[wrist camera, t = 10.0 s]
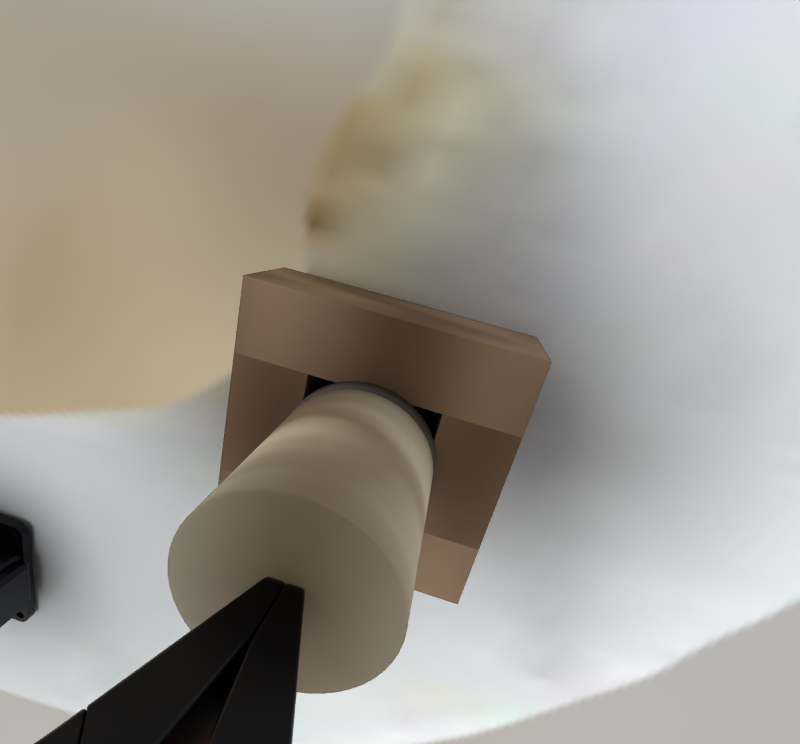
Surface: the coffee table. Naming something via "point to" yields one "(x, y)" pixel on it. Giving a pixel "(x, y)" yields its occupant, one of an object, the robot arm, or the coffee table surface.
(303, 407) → the peg
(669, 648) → the coffee table surface
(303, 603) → the robot arm
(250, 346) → the brown square frame
